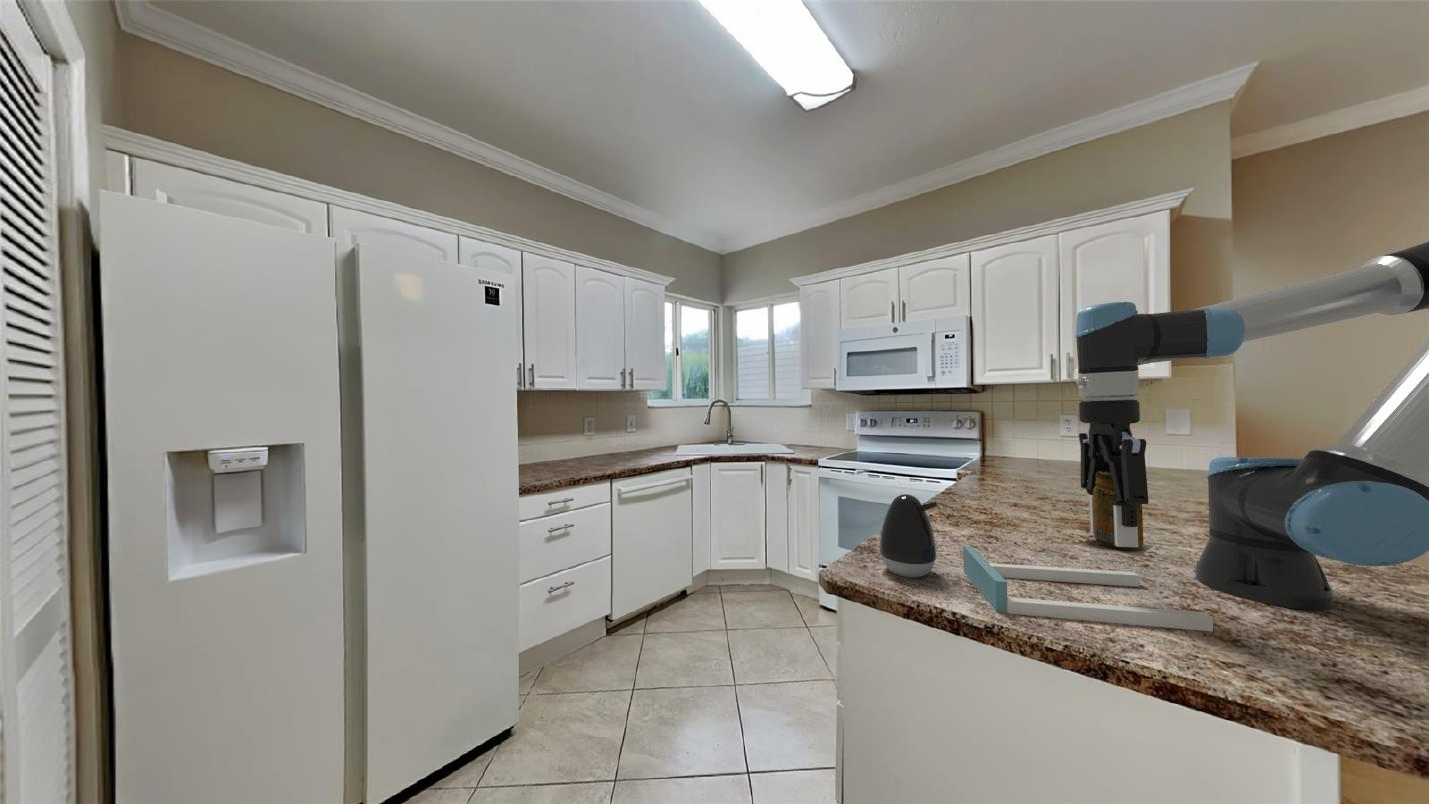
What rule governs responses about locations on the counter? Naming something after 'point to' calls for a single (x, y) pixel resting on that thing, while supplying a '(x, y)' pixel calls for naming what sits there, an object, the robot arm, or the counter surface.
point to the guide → (995, 593)
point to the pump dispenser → (908, 537)
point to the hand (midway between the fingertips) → (1113, 539)
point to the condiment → (1110, 519)
